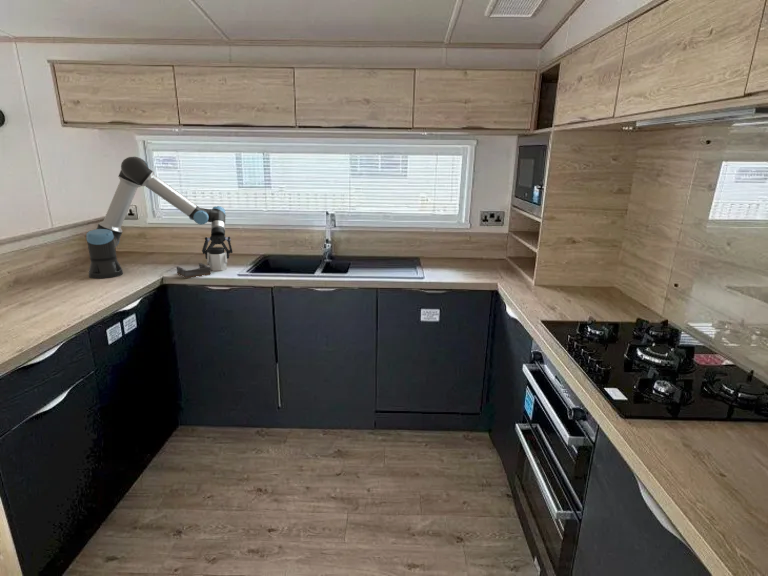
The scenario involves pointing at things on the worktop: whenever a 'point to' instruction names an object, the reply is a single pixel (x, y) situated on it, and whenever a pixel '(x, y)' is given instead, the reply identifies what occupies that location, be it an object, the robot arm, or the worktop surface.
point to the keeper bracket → (194, 271)
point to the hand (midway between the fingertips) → (217, 263)
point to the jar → (217, 259)
